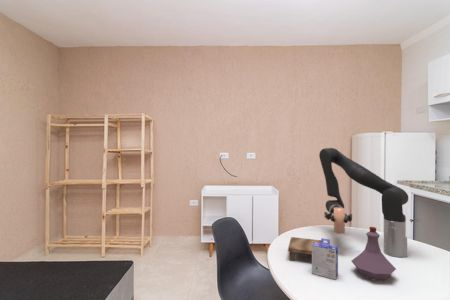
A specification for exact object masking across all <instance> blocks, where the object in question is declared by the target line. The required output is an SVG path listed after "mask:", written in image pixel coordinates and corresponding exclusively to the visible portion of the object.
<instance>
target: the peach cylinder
mask: <svg viewBox="0 0 450 300" xmlns="http://www.w3.org/2000/svg"><path fill="white" fill-rule="evenodd" d="M345 214H346V209H345V207H344V208H341V207H334V222H333V232H334V233H335V234H339V235H341V234H342V235H343V234H345V231H346V229H345V227H346V226H345V225H346V223H345Z"/></svg>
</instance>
